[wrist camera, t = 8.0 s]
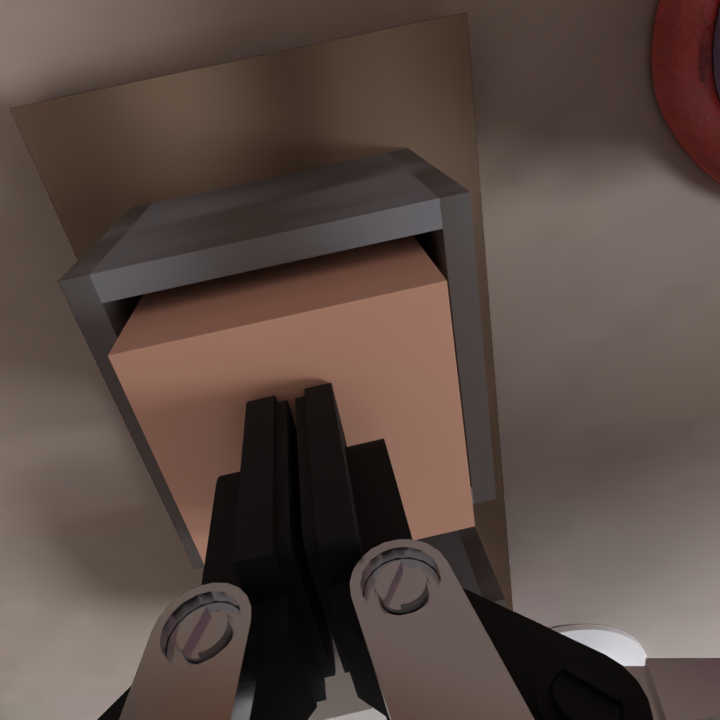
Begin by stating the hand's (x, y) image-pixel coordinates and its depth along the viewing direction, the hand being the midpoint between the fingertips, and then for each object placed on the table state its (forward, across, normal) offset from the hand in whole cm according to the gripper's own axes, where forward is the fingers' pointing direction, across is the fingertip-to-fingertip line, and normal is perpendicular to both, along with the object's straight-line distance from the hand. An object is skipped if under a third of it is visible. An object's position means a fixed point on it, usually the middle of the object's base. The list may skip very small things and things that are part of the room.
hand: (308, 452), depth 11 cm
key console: (+10, 0, +6) cm, 11 cm away
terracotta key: (+6, 0, 0) cm, 6 cm away
